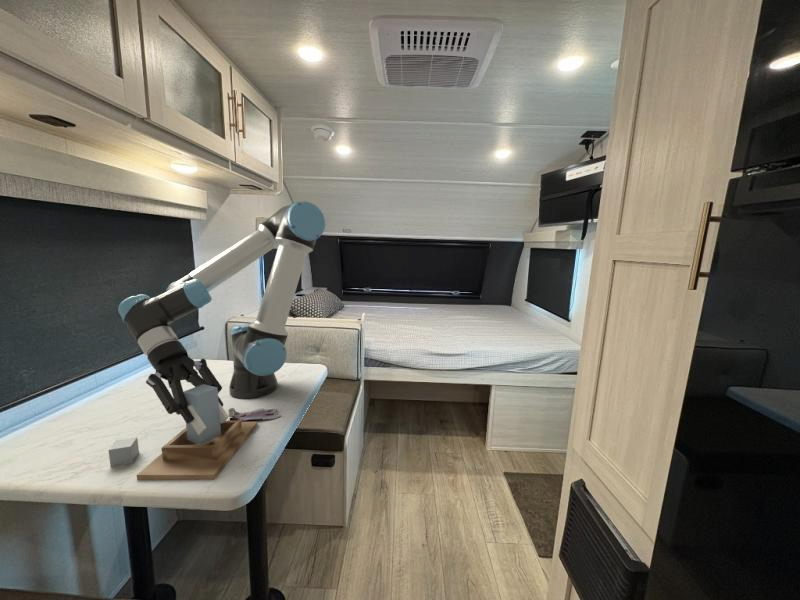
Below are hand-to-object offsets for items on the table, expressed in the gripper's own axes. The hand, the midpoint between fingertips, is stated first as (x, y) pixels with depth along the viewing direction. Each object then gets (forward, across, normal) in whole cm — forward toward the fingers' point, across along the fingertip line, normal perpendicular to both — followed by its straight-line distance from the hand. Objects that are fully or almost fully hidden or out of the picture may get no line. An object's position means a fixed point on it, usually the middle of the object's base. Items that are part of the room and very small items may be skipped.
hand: (214, 425), depth 78 cm
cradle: (+2, 0, -7) cm, 8 cm away
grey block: (-7, +10, -17) cm, 21 cm away
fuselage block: (0, 0, -5) cm, 5 cm away
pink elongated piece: (+2, -16, -8) cm, 18 cm away
